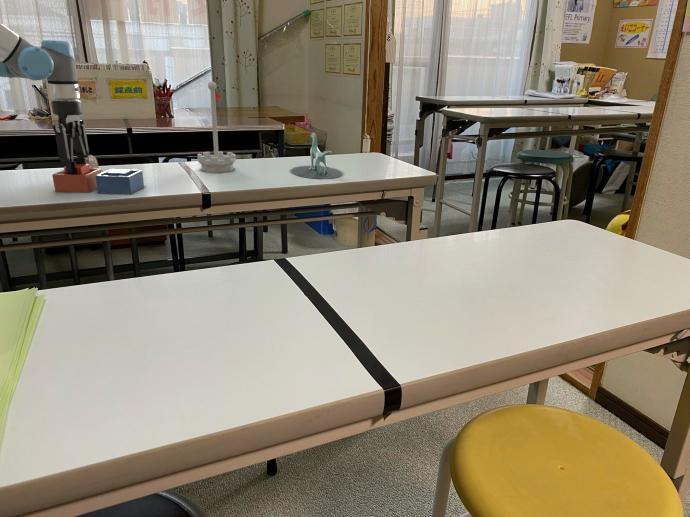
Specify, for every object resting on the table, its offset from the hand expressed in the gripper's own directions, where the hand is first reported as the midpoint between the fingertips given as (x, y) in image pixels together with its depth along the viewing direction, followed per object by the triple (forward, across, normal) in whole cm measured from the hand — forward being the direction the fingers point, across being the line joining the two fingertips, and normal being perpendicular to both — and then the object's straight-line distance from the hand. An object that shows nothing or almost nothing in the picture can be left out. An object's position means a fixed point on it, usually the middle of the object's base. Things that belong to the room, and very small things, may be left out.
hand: (78, 181), depth 153 cm
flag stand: (+2, +34, -33) cm, 47 cm away
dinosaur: (+2, +34, -69) cm, 77 cm away
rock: (+2, +14, +2) cm, 14 cm away
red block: (0, 0, 0) cm, 0 cm away
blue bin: (+2, 0, -13) cm, 13 cm away
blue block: (+1, 0, -13) cm, 13 cm away
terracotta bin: (+2, 0, 0) cm, 2 cm away
